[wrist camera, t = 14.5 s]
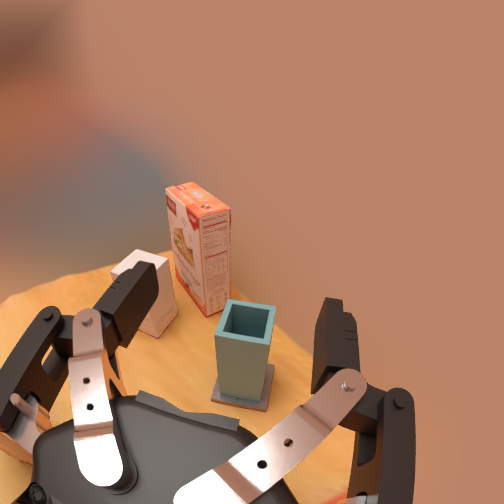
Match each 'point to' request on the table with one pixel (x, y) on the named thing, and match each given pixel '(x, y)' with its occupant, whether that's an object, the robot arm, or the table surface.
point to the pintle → (244, 402)
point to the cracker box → (201, 245)
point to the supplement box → (165, 301)
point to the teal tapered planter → (243, 348)
